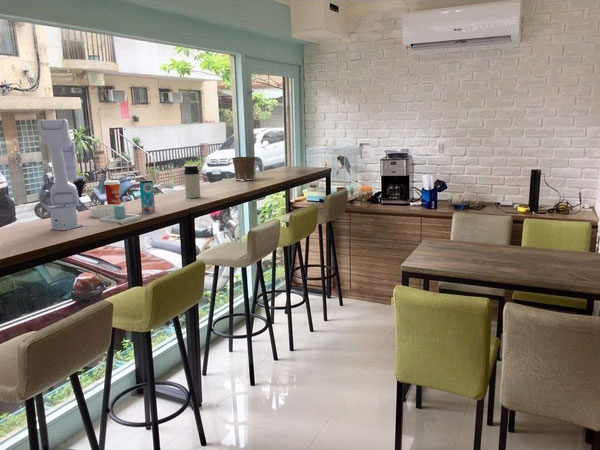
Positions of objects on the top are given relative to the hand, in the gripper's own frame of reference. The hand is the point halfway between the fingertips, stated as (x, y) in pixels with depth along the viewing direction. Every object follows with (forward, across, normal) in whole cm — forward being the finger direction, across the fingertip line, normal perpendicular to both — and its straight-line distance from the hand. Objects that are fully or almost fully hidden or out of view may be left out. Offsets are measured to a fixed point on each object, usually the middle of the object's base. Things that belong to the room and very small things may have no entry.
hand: (72, 198), depth 223 cm
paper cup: (+10, -26, -2) cm, 28 cm away
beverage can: (+10, -23, +22) cm, 33 cm away
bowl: (+9, -10, +9) cm, 16 cm away
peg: (+9, -4, +23) cm, 25 cm away
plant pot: (+10, -145, +2) cm, 145 cm away
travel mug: (+10, -70, +13) cm, 72 cm away
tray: (+9, -4, +23) cm, 25 cm away
